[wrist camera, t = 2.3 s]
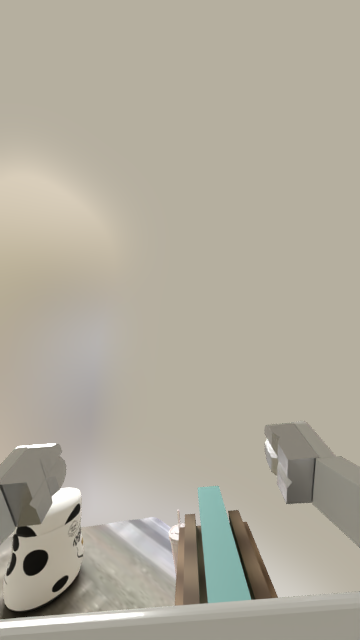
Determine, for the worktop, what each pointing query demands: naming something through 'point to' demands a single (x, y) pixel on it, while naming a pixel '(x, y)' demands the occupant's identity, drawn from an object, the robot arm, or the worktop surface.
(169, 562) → the worktop surface
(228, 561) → the long teal plank
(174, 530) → the smoothie
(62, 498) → the milk container
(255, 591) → the button stand
